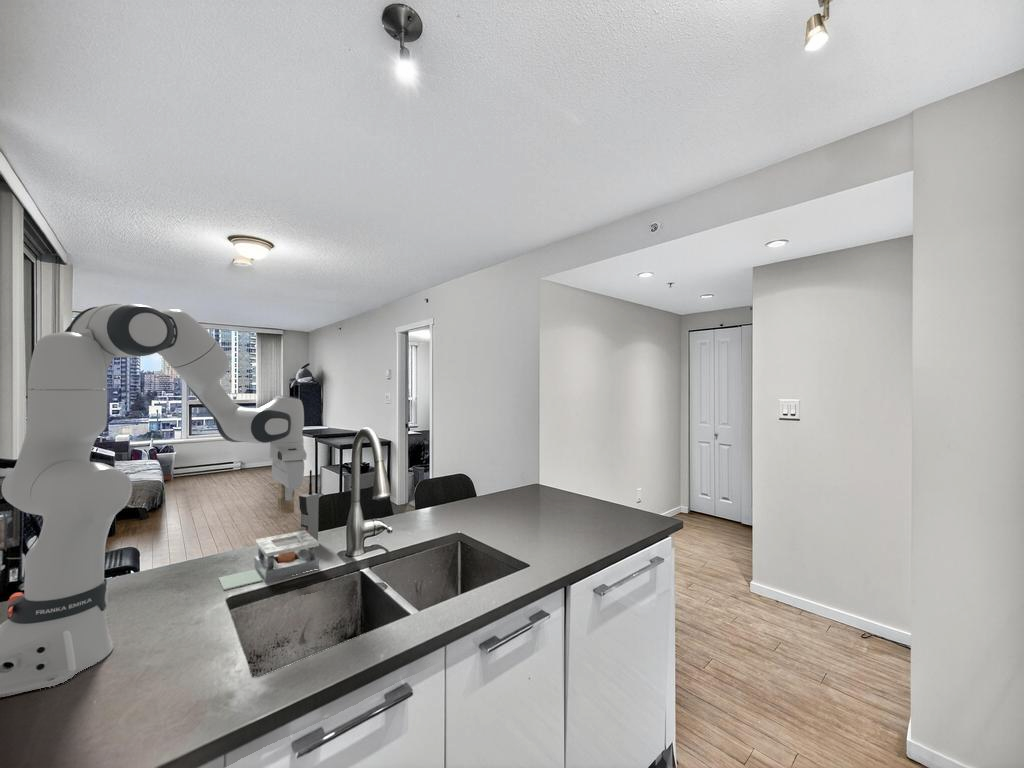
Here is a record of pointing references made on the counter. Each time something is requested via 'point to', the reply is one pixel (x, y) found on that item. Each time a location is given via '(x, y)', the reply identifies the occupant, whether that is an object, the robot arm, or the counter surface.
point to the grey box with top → (269, 552)
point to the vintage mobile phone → (309, 511)
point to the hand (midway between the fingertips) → (285, 498)
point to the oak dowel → (284, 501)
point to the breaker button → (286, 557)
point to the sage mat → (239, 579)
